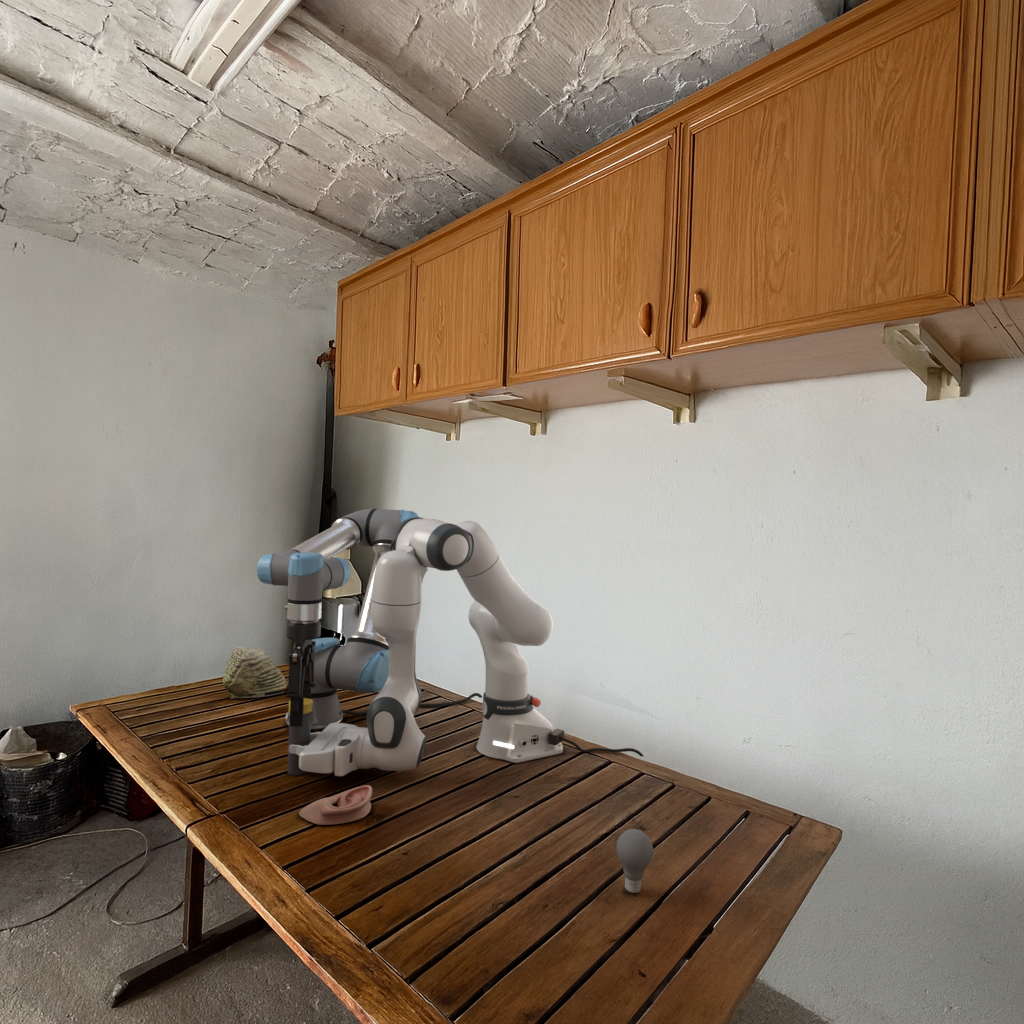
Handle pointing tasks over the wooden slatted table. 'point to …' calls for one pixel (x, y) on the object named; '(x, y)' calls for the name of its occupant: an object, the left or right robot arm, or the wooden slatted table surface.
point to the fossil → (252, 674)
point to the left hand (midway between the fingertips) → (300, 720)
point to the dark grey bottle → (301, 737)
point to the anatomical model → (339, 807)
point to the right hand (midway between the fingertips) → (295, 743)
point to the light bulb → (634, 857)
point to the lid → (306, 705)
